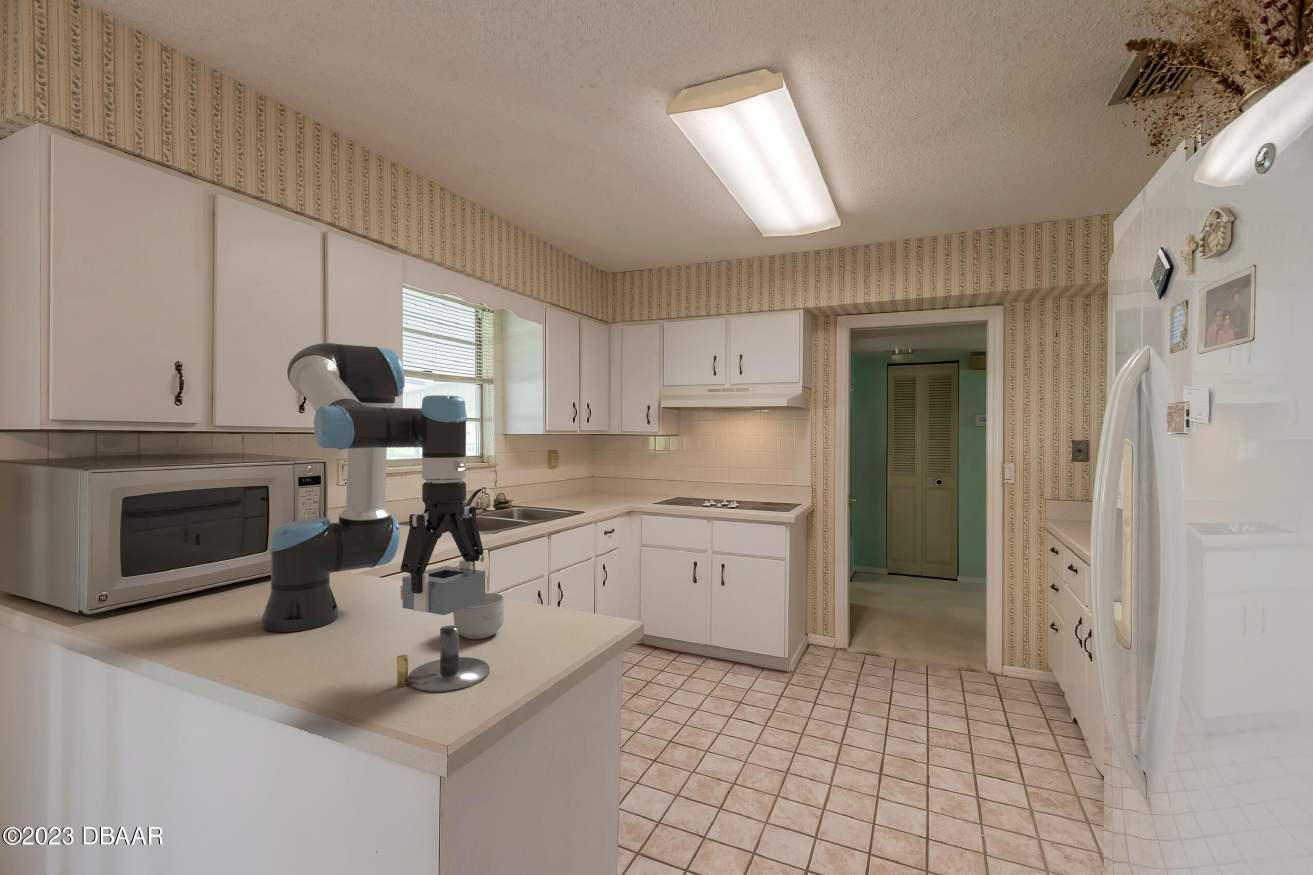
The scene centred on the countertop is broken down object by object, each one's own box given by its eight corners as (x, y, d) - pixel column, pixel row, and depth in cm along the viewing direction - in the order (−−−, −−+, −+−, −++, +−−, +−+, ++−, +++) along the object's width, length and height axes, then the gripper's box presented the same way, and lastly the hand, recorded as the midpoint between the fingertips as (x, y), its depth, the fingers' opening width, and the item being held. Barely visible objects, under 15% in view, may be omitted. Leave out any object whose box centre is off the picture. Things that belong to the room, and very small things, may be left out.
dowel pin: (394, 686, 103) (394, 657, 103) (403, 682, 105) (403, 654, 105) (401, 688, 103) (401, 659, 103) (410, 684, 104) (410, 655, 104)
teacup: (489, 645, 123) (489, 607, 123) (442, 641, 125) (442, 603, 125) (518, 624, 137) (518, 589, 137) (475, 620, 139) (475, 586, 139)
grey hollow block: (485, 600, 110) (485, 570, 110) (443, 615, 101) (443, 583, 101) (426, 591, 117) (426, 563, 117) (383, 604, 108) (383, 574, 108)
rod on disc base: (390, 682, 105) (390, 634, 105) (449, 655, 118) (449, 612, 117) (449, 698, 99) (449, 647, 99) (505, 668, 111) (505, 622, 111)
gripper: (408, 486, 96) (408, 623, 96) (502, 477, 116) (503, 590, 116) (376, 484, 99) (376, 617, 99) (473, 476, 120) (473, 586, 120)
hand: (444, 602), depth 108 cm, fingers closed on grey hollow block, 10 cm apart
